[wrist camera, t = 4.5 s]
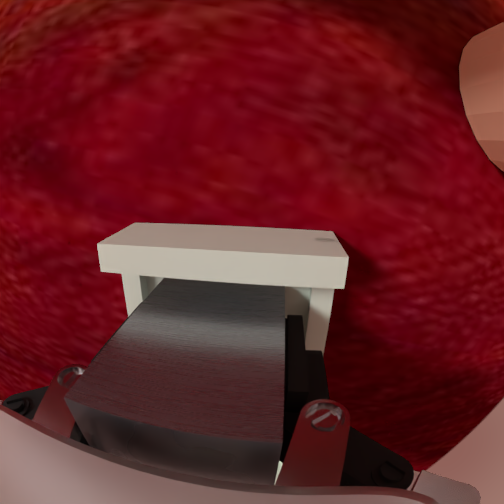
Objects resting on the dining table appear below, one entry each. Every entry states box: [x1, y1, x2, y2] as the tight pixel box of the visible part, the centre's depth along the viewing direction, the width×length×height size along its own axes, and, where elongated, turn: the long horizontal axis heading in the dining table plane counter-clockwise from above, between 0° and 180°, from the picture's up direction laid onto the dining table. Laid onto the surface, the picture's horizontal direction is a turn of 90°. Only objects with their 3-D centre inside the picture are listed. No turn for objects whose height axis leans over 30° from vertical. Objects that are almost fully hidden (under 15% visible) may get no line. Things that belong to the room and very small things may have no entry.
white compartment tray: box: [97, 223, 349, 486], centre depth 14 cm, size 8×22×3 cm, turn 179°
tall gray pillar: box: [64, 278, 285, 485], centre depth 9 cm, size 4×4×7 cm
